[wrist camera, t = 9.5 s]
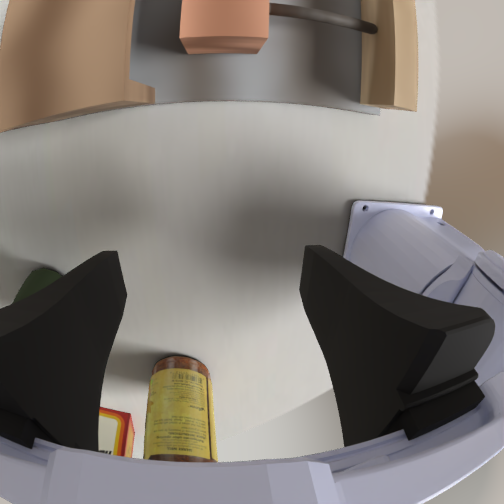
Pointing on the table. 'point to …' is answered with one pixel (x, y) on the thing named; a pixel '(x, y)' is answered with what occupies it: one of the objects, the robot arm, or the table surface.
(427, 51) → the table surface
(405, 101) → the pull block
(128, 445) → the baking soda box
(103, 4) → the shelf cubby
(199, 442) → the sauce bottle
